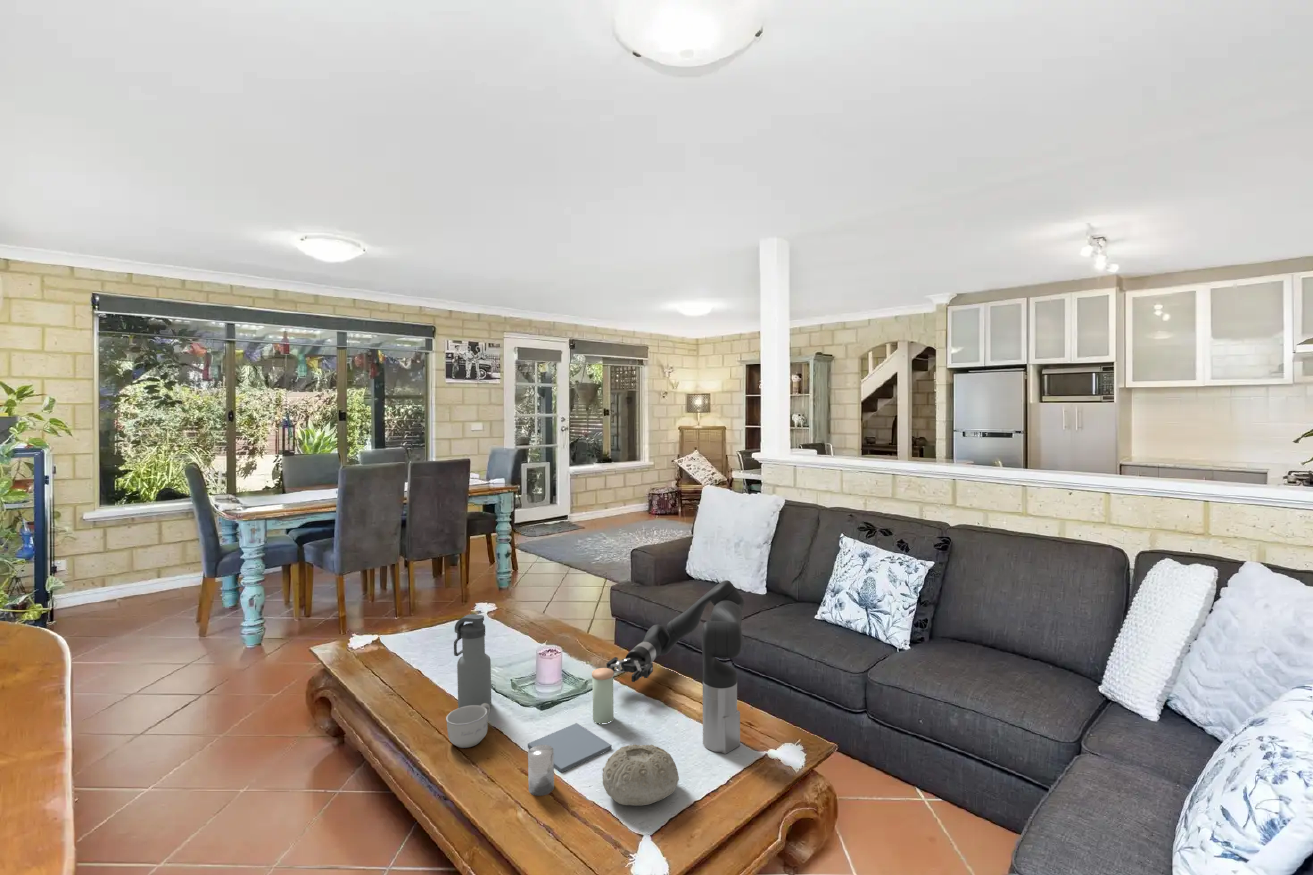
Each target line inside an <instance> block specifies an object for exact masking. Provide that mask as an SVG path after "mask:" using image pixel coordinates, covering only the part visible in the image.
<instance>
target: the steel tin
mask: <svg viewBox="0 0 1313 875" xmlns="http://www.w3.org/2000/svg"><path fill="white" fill-rule="evenodd" d="M527 764H528V766H527V767H528V768H527V769H528V770H527V773H528V774H527V775H528V777H527V778H528V793H529V794H531V795H533V796H535V797H537V796H539V797H541V796H545V795H546V796H547V795H548V794H550V793H552V792H553V790H554V789H555V768H554V751H553V748H552V747H551V746H549V745H537V746H534V747H532V748H531V749H529V750H528V752H527Z"/></svg>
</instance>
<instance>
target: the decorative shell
mask: <svg viewBox="0 0 1313 875" xmlns="http://www.w3.org/2000/svg"><path fill="white" fill-rule="evenodd" d="M679 781H680V777H679V771H678V768H677V765H676V762H675V761H674V759H673V757H672V755H671V753H669V752H668V751H666V750H665V749H663V748H661V747H659V746H656V745H654V744H650V745H649V744H646V745H645V744H642V745H640V744H636V743H635V744H630V745H625V746H622V747H620V748H618V749H617V750H616V751H614V752H613V753H612V755H611V756H610V757H608V758H607V760H606V762H605V765H604V767H603V768H602V786H603V788H604V791H605V792H606V794H607V796H609V797H610V798H611V799H613V801H615V803H617V804H619V805H623V806H646V805H651V804H655V803H656V802H659V801H661V800H664V799H666V797H669V796H670V795H671V794H673V793H674V792H675V791H676V788H677V786H678V784H679Z"/></svg>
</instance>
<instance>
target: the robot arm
mask: <svg viewBox="0 0 1313 875" xmlns="http://www.w3.org/2000/svg"><path fill="white" fill-rule="evenodd" d="M710 603H712V604H713V607H712V608H713V609H712V610H711V614H710V620H707V621H705V622H703V625H702V629H701V650H702V744H703V746H704V748H706V749H707V750H709V751H712V752H715V753H723V754H725V755H726V754H728V753H730V752H732V751H733V750H735V749H737V748H739V747H740V746H741V711H740V710H738V673H737V671H736V669H735V668H734V667H732V666H731V665H728V664H726V663H724V662H722V661H720V660H719V659H718V658H724V659H732V658H737V657H738V656H740V654H741V652H742V649H743V639H744V638H743V632H742V622H743V620H742V618H743V615H742V614H743V610H744V606H745V600H744V598H743V596H742V595H741V593H740V592H739V591H738V589H737V588H736V587H735V586H734V584H733V583H732V582H731V581H730V580H727V579H725V580H723V581H721V582H719V583H718V584H716V585H715V586H714V587H712V588H711V589H710V590H708V591H707V592H706V593H705V594H703V595H702V596H701V597H700V598H699V599H698V600H696V601H695V602H694V603H693V604H692V605H691V606H690V607H689V608H687V609H686V610H685V611H683V612H682V613H680V614H678V615H677V616H675V617H674V618H672V619H671V620H670V621H668V623H667V624H666V628H665V627H664V625H662V624H658V623H657V624H656V623H655V624H654V625H652V626H650V627H649V629H647V632H646V633H645V636H644V638H643V640H642V642H640V643H638V644H637V645H636V646H635V647H633V648H632V649H631V650H629V652H627V654H626V656H625V657H624V658H622V659H620V660H619V658H618V657H613V658H611V659H610V660H609V661H607V662H606V668H609V669H612V670H613V671H614V674H615V673H618V674H621V673H625V672H626V673H630V674H631V682H632V683H635V682H637V681H638V680H639V679H641V678H642V677H643V678H644V679H648V678H649V677H650V676H651V674H652V673H653V671H654V664H653V663H654V660H655V659H656V658H657V657H659V656H665V655H667V654H669V653H670V652H671V650H672V649H673V648H674V647H675V645H676V644H677V643H678V642H679V641H681V639H683V638H685V637H687V635H689V634H691V633H693V631H695V630H696V629H697V627H698V626H699V624H700V621H701V620H702V616H703V614H704V611H705V609H706V607H707V605H709V604H710ZM615 668H616V669H615Z"/></svg>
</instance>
